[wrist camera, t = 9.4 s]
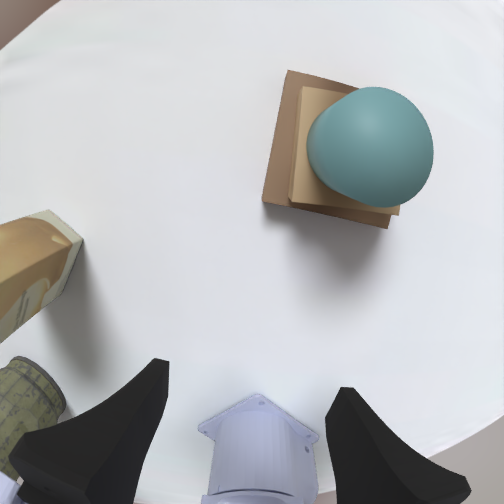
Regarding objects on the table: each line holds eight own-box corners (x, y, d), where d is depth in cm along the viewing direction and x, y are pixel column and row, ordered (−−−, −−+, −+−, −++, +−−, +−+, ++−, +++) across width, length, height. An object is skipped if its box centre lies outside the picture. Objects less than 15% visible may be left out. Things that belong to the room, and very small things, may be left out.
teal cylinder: (409, 159, 14) (450, 162, 10) (345, 213, 15) (374, 231, 11) (355, 86, 13) (386, 66, 9) (286, 140, 14) (297, 133, 10)
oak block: (393, 113, 15) (409, 109, 13) (383, 208, 17) (398, 215, 15) (297, 95, 15) (302, 86, 13) (288, 196, 17) (291, 201, 15)
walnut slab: (396, 112, 17) (411, 108, 15) (374, 221, 20) (387, 229, 17) (284, 80, 17) (287, 69, 15) (261, 196, 19) (261, 201, 17)
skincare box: (62, 295, 21) (-30, 378, 10) (28, 265, 21) (-69, 330, 9) (86, 235, 20) (-34, 307, 8) (49, 204, 19) (-74, 250, 7)
